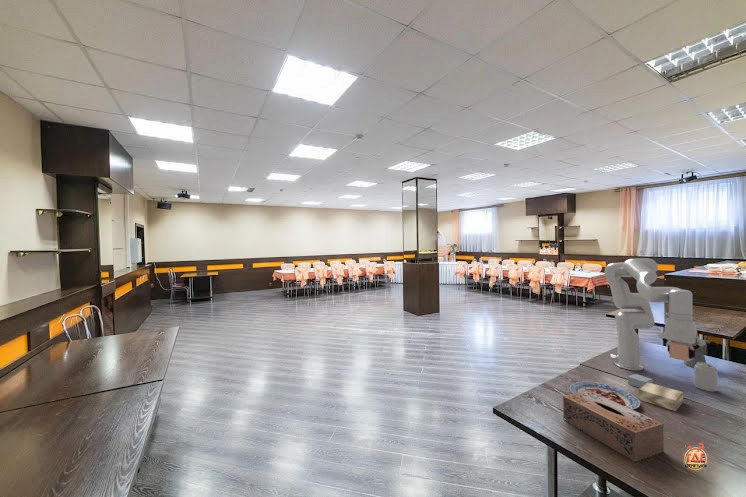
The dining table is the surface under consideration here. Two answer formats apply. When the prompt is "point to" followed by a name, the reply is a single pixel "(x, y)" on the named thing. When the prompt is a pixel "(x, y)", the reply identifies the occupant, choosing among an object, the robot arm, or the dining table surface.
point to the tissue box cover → (614, 424)
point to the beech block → (661, 396)
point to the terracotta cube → (679, 351)
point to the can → (706, 377)
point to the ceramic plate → (607, 393)
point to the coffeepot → (701, 353)
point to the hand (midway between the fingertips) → (681, 355)
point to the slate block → (638, 380)
